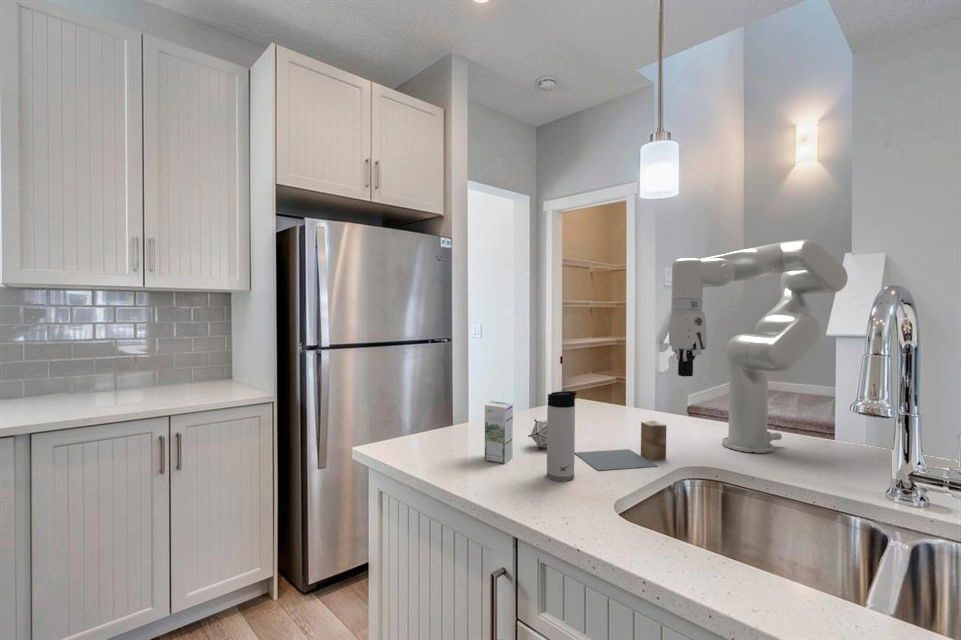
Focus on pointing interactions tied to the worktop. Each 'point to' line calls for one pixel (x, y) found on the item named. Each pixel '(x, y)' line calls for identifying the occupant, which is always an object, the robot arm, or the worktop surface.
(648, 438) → the pillar block
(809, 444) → the worktop surface
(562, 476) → the travel mug
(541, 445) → the game die
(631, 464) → the mat
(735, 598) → the worktop surface
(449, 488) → the worktop surface
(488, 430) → the syrup box
